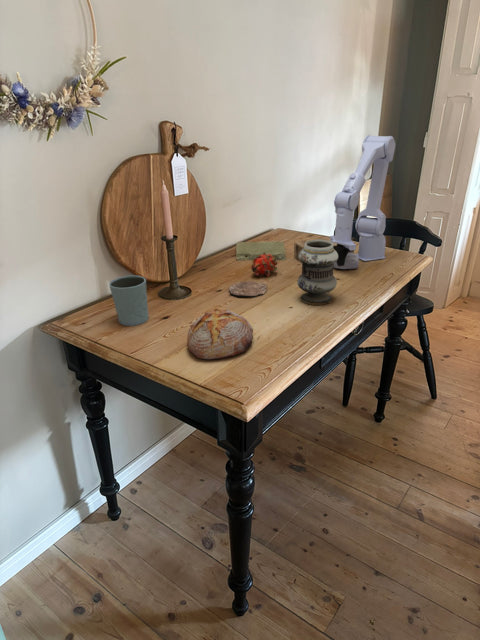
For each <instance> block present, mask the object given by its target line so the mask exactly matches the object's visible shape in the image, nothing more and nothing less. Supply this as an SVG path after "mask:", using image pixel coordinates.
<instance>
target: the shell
mask: <svg viewBox="0 0 480 640" xmlns="http://www.w3.org/2000/svg"><path fill="white" fill-rule="evenodd" d="M228 292H229V293H230V295H231V296H233V297H235V298H239V299H240V298H246V299H248V298H251V299H255V298H258V297H262V296H264V295H265V294H266V293H267V292H268V285H267V284H266V283H260V282H255V281H252V280H245V281H238V282H236V283H234V284H231V285H229V288H228Z"/></svg>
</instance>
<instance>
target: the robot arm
mask: <svg viewBox="0 0 480 640" xmlns="http://www.w3.org/2000/svg"><path fill="white" fill-rule="evenodd" d="M395 151H396V140H395V137H393V136H392V135H388V136H386V135H385V136H384V135H383V136H382V135H381V136H380V135H370V134H369V135H366V136H365V137H364V139H363V141H362V144H361V152H362V154H361V157H360V160H358V161H359V162H358V164H357V166H356V169H355V171H354V172H351V173H350V175H349V176H348V178H347V180H346V182H345V185H344V186H343V188H342V190H341V191H340V192H338V193H337V194H336V195H335V197H334V200H333V205H334V208H335V210H334V213H335V214H336V216H335V217H336V218H335V229H334V235H330V236H329V237H330V241H331V242H332V243H337V246H333V248H334V250H335V251H336V252H337V253H338V260H337V265H338V266H344V263H345V259H346V256H347V254H348V253H349V251H350V250H354V251H356V250H357V244H356V243H355V242H354V241H352V234H353V233H352V232H353V226H354V225H353V224H354V213H355V210H356V209H357V207H358V205H359V202H360V201H359V200H360V196H361V195H360V193H361V191H362V189H363V187H364V186H365V184H366V178H365V176H366V175H367V173H368V171H369V170H370V168H371V167H372V165H373V168H372V174H371V179H370V185H369V191H368V195H367V201H366V207H365V208H364V209H363V210H361V211H360V212H359V213H358V216H357V219H356V221H355V230H356V232H357V235H359V238H358V239H359V240H358V241H359V242H358V251H357V252H358V253H354V255H355V256H358V258H359V260H361V261H362V262H368V261H369V262H371V261H377V260H383V259H386V256H385V252H386V244H387V243H386V236H385V235H384V232H385V230H386V219H387V216H386V215H385V213H384V212H383V211H382V210H381V205H382V202H383V196H384V190H385V187H386V186H385V184H386V180H387V174H388V170H389V169H388V168H389V163H391V162H393V159H394V153H395ZM353 242H354V243H355V244H354V243H353Z"/></svg>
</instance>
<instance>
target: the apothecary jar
mask: <svg viewBox="0 0 480 640" xmlns="http://www.w3.org/2000/svg"><path fill="white" fill-rule="evenodd" d="M309 240H310V241H307V242H306V243H305V245H304V249H302V250H301V251H300V253H299V260H300V261H301V262H302V263H301V262H300V261H299V262H300V263H301V266H302V267H301V274H300V275H299V276H298V278H297V279H296V280H297V286H298V288H300V290H302V291H303V294H301V295H300V301H302V303H304V304H307V305H313V306H323V305H325V304H330V303H331V302H332V301H333V298H332V297H333V296H331V295H330V294H329V293H330V292H331V291H333V290H335V288H336V286H337V285H338V280H337V278H336V277H335V276H334V267H333V266H334V263H335V262H336V261H337V260H338V253H337V252H336V251H335V250H334V248H333V243H332V242H330V241H327V240H312V239H309ZM304 292H305V293H304Z"/></svg>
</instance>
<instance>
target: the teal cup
mask: <svg viewBox="0 0 480 640" xmlns="http://www.w3.org/2000/svg"><path fill="white" fill-rule="evenodd" d="M108 285H109V290H110V291H111V296H112V301H113V304H114V308H115V312H116V315H117V319H118V322H119V324H120V325H122V326H127V327H132V326H133V327H134V326H140V325H142V324H144V323H146V322H147V321H148V320H149V306H148V294H147V279H146V278H145V277H144V276H141V275H124V276H120V277H117V278H115V279H112V280H111V281H110V282H109V284H108Z"/></svg>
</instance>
